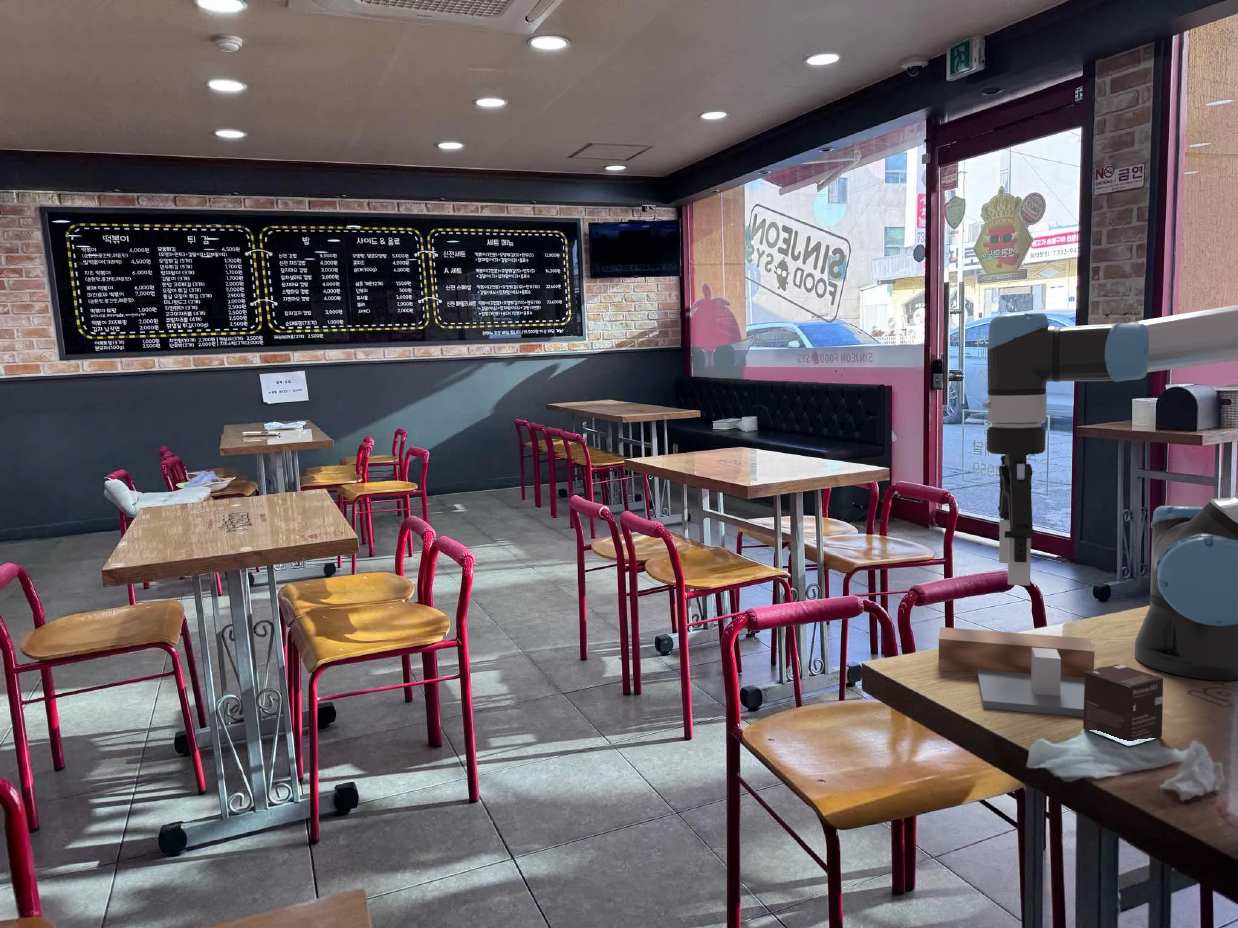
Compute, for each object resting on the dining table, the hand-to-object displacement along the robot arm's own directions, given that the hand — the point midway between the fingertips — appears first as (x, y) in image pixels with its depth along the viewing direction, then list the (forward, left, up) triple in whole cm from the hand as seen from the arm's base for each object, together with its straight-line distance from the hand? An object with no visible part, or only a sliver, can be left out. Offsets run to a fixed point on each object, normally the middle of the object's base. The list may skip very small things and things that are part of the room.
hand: (1013, 573), depth 123 cm
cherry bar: (0, 0, -15) cm, 15 cm away
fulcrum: (-3, +10, -14) cm, 18 cm away
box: (-10, +20, -15) cm, 27 cm away
